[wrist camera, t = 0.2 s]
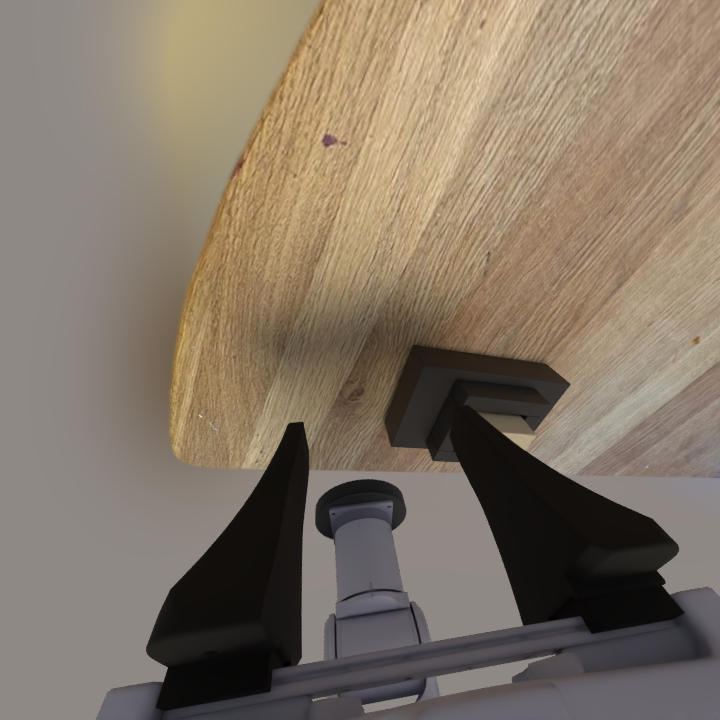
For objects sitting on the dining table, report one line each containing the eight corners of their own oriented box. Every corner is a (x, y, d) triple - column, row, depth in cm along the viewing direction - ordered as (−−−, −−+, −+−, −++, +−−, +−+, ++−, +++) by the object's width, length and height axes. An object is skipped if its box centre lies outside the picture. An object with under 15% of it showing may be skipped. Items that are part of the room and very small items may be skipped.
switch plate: (546, 364, 23) (590, 400, 19) (500, 431, 27) (529, 471, 23) (412, 344, 20) (433, 382, 17) (384, 422, 25) (395, 466, 21)
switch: (520, 414, 20) (537, 435, 18) (496, 448, 22) (510, 470, 20) (475, 410, 19) (490, 432, 17) (455, 445, 21) (466, 468, 19)
